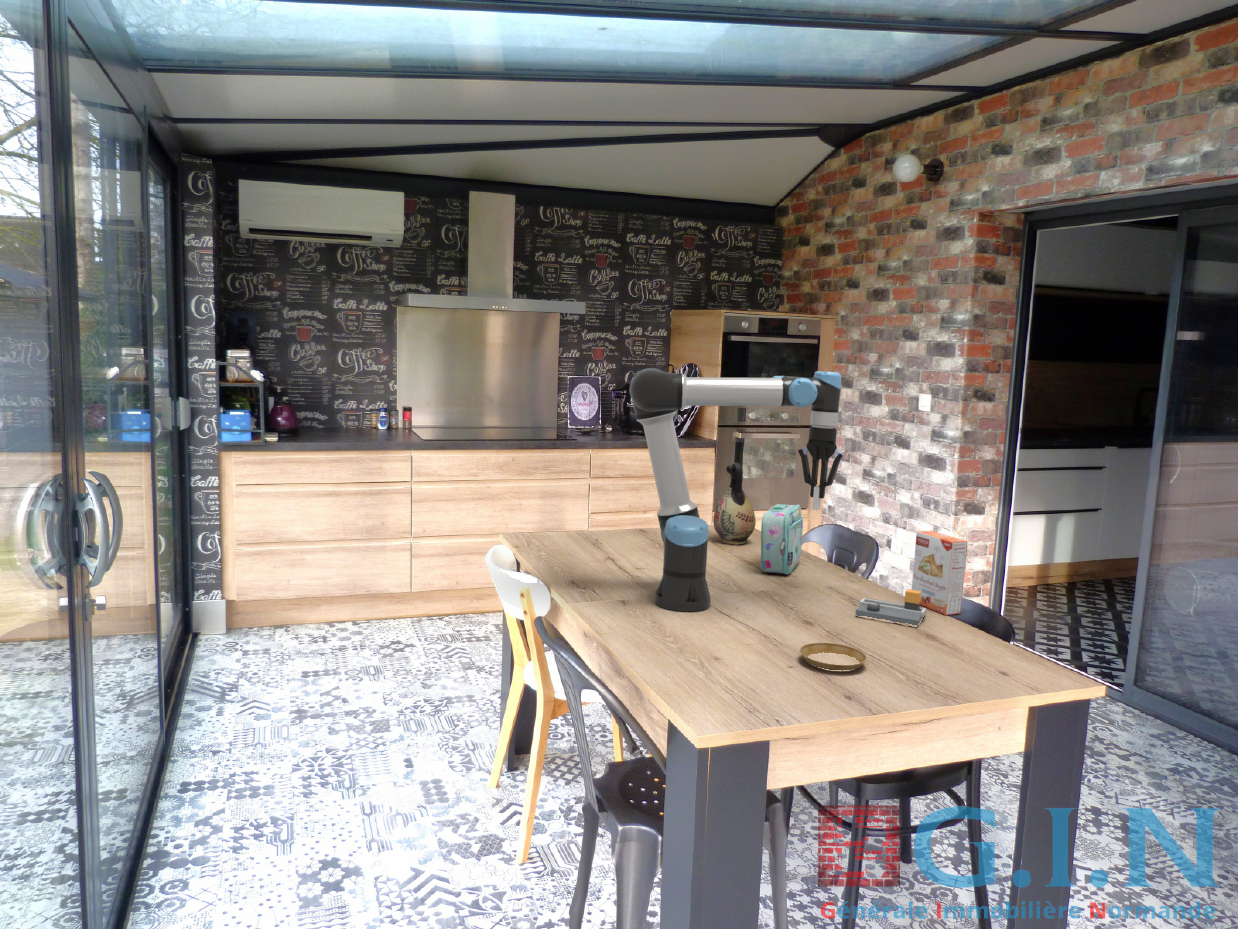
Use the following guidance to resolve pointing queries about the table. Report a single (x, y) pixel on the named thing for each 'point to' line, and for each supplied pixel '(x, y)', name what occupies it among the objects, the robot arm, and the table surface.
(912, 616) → the console
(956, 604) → the cracker box
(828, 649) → the plant saucer
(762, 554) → the lunch box
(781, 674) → the table surface
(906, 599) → the fader tab
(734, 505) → the ceramic jug
